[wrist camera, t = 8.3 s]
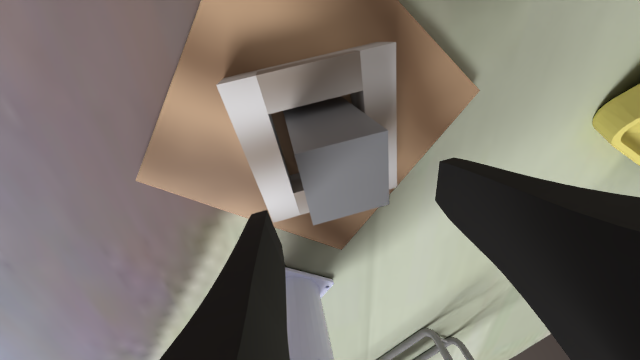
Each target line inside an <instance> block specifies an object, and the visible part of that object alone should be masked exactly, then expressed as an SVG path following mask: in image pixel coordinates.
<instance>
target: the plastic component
mask: <svg viewBox="0 0 640 360" xmlns="http://www.w3.org/2000/svg"><path fill="white" fill-rule="evenodd" d="M593 126H594V128H595V129H596V130H597V131H598V132H599V133H600V134H601V135H602V136H603V137H604V138H605V139H606V140H607V141H608V142H609V143H610V144H611V145H612V146H613V147H615V148H616V149H617V150H619V151H620V152H622V153H623V154H624V155H626V156H627V157H628V158H630V159H631V160H632V161H634V162H635V163H637V164H638V165H639V166H640V84H638V85H636V86H635V87H633V88H631V89H629V90H628V91H626V92H624V93H622V94H621V95H619V96H617V97H615V98H614V99H612V100H610V101H609V102H608V103H606V104H605V105H604V106H603V107H601V108H600V109H599V110H598V111H597V113H596V114H595V116H594V118H593Z"/></svg>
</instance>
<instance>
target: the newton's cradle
mask: <svg viewBox="0 0 640 360" xmlns="http://www.w3.org/2000/svg"><path fill="white" fill-rule="evenodd" d="M425 336H428V337H431V338H432V339H433V340H434V342H435V344H436V345H435V346H433V347H432V348H430V349H429V350H427V351H426V352H424V353H423V354H421V355H420V356H418V357H417V358H415V359H414V360H427V359H429V358H430V357H432V356H433V355H435V354H437V353H438V352H440V353H441V355H442V356H443V358H444V360H453V359H452V357H451V356H450V354H449V352H448V350H447V349H446V347H447V346H449V345H451V344H454V345H456V346H458V347H459V349H460V350H461V352H462V353H463V355H464V357H465V358H466V360H474V359H473V357H472V356H471V354H470V353H469V351H468V350H467V348H466V347H465V345H464V344H463V343H462V342H461V341H460V340H459V339H457V338H454V337H448V338H446V339H442V338H440V337H439V336H438V335H437V333H436V332H434V331H433V330H431V329H428V328H423V329H421V330H419V331H418V332H416V333H415V334H413V335H412V336H410V337H409V338H408V339H406V340H405V341H403V342H402V343H400V344H399V345H397V346H396V347H395V348H393V349H392V350H390V351H389V352H387V353H386V354H385V355H383V356H382V357H380V358H379V359H377V360H391V359H393V358H394V357H396V356H397V355H398V354H400V353H401V352H403V351H404V350H406V349H407V348H409V347H410V346H412V345H413V344H415V343H416V342H418V341H419V340H421V339H422V338H423V337H425Z"/></svg>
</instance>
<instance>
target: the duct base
mask: <svg viewBox="0 0 640 360" xmlns="http://www.w3.org/2000/svg"><path fill="white" fill-rule="evenodd" d="M479 91H480V90H479V89H478V88H477V87H476V86H475V85H474V84H473V82H472V81H471V80H470V79H469V78H468V77H467V76H466V75H465V74H464V73H463V71H462V70H461V69H460V68H459V67H458V66H457V65H456V64H455V63H454V62H453V60H452V59H451V58H450V57H449V56H448V55H447V54H446V53H445V52H444V51H443V49H442V48H441V47H440V46H439V45H438V44H437V43H436V42H435V41H434V40H433V38H432V37H431V36H430V35H429V34H428V33H427V32H426V31H425V30H424V29H423V27H422V26H421V25H420V24H419V23H418V22H417V21H416V20H415V19H414V18H413V16H412V15H411V14H410V13H409V12H408V11H407V10H406V9H405V8H404V7H403V5H402V4H401V3H400V2H399V1H398V0H201V3H200V5H199V8H198V11H197V14H196V16H195V19H194V22H193V25H192V27H191V30H190V33H189V36H188V38H187V41H186V44H185V47H184V49H183V52H182V55H181V57H180V60H179V63H178V66H177V68H176V71H175V74H174V77H173V79H172V82H171V85H170V88H169V90H168V93H167V96H166V99H165V101H164V104H163V107H162V110H161V112H160V115H159V118H158V121H157V123H156V126H155V129H154V132H153V134H152V137H151V140H150V143H149V145H148V148H147V151H146V154H145V156H144V159H143V162H142V165H141V167H140V170H139V173H138V176H137V178H136V181H138V182H141V183H144V184H147V185H150V186H153V187H156V188H159V189H162V190H165V191H168V192H171V193H174V194H177V195H180V196H183V197H186V198H189V199H192V200H195V201H198V202H201V203H204V204H207V205H210V206H213V207H216V208H219V209H222V210H225V211H227V212H230V213H233V214H236V215H239V216H242V217H245V218H248V219H249V218H250V216H251V214H254V213H257V212H261V211H264V210H267V211H268V213H269V216H270V218H271V220H272V223H273V225H274V227H275V228H278V229H281V230H284V231H287V232H290V233H293V234H296V235H299V236H302V237H305V238H308V239H311V240H314V241H317V242H320V243H323V244H326V245H329V246H332V247H335V248H338V249H341V250H342V249H343V247H344V246H345V245H346V244H347V243H348V242H349V241H350V239H351V238H352V237H353V236H354V235H355V234H356V233H357V231H358V230H359V229H360V228H361V227H362V226H363V224H364V223H365V222H366V221H367V220H368V219H369V218H370V216H371V215H372V214H373V213H374V212H375V211H376V210H377V208H374V209H370V210H367V211H363V212H360V213H356V214H353V215H349V216H345V217H342V218H338V219H335V220H331V221H328V222H324V223H320V224H317V225H313V223H312V219H311V215H310V211H309V208H308V204H307V200H306V196H305V193H304V189H303V185H302V181H301V177H300V174H299V170H298V166H297V162H296V159H295V155H294V151H293V147H292V143H291V140H290V136H289V132H288V128H287V124H286V121H285V117H284V113H283V111H284V110H288V109H292V108H296V107H300V106H304V105H308V104H312V103H316V102H320V101H323V100H328V99H332V98H336V97H340V96H341V97H343V98H344V99H345V100H347V101H348V102H350V103H351V104H352V105H354V106H355V107H356V108H358V109H359V110H361V111H362V112H363V113H365V114H366V115H368V116H369V117H370V118H372V119H373V120H374V121H376V122H377V123H379V124H380V125H381V126H383V127H384V128H386V129H387V130H388V157H389V195H390V193H391V192H392V191H393V190H394V189H395V188H396V187H397V185H398V184H399V183H400V182H401V181H402V180H403V178H404V177H405V176H406V175H407V174H408V173H409V172H410V170H411V169H412V168H413V167H414V166H415V165H416V163H417V162H418V161H419V160H420V159H421V158H422V157H423V155H424V154H425V153H426V152H427V151H428V150H429V148H430V147H431V146H432V145H433V144H434V143H435V142H436V140H437V139H438V138H439V137H440V136H441V135H442V134H443V132H444V131H445V130H446V129H447V128H448V127H449V125H450V124H451V123H452V122H453V121H454V120H455V119H456V117H457V116H458V115H459V114H460V113H461V112H462V111H463V109H464V108H465V107H466V106H467V105H468V104H469V102H470V101H471V100H472V99H473V98H474V97H475V96H476V94H477V93H478V92H479Z"/></svg>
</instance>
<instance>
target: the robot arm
mask: <svg viewBox="0 0 640 360" xmlns="http://www.w3.org/2000/svg"><path fill="white" fill-rule="evenodd" d="M435 201H436V202H437V204H438V205H439V206H440V208H441V209H442V210H443V212H444V213H445V214H446V216H447V217H448V218H449V219H450V220H451V221H452V222H453V224H454V225H455V226H456V227H457V228H458V229H459V230H460V231H461V232H462V233H463V234H464V235H465V236H466V237H467V238H468V239H469V240H470V241H471V242H472V243H474V244H475V245H476V246H477V247H478V248H479V249H480V250H481V251H482V252H483V253H484V254H485V255H486V256H487V257H488V258H489V259H490V260H491V261H492V262H493V263H494V264H495V265H496V266H497V268H498V269H499V270H500V271H501V272H502V273H503V274H504V275H505V276H506V278H507V279H508V280H509V281H510V282H511V283H512V285H513V286H514V287H515V288H516V289H517V291H518V292H519V293H520V294H521V295H522V297H523V298H524V299H525V300H526V302H527V303H528V304H529V305H530V307H531V308H532V309H533V310H534V312H535V313H536V314H537V315H538V317H539V318H540V319H541V321H542V322H543V323H544V324H545V326H546V327H547V328H548V330H549V331H550V332H551V334H552V335H553V336H554V338H555V339H556V340H557V342H558V343H559V344H560V346H561V347H562V349H563V350H564V351H565V353H566V354H567V355H568V357H569V358H570V360H640V197H633V196H627V195H620V194H614V193H608V192H602V191H597V190H591V189H585V188H580V187H575V186H570V185H565V184H561V183H556V182H552V181H547V180H543V179H538V178H534V177H530V176H526V175H522V174H518V173H514V172H510V171H506V170H503V169H499V168H495V167H491V166H487V165H484V164H480V163H476V162H472V161H468V160H463V159H458V158H451V159H447V160H443V161H440V163H439V172H438V181H437V189H436V198H435ZM333 284H334V282H333V280H332V279H329V278H325V277H322V276H318V275H314V274H310V273H306V272H302V271H298V270H294V269H290V268H287V267H285V264H284V257H283V250H282V245H281V242H280V240H279V238H278V235H277V233H276V230H275V228H274V225H273V223H272V220H271V218H270V216H269V213H268V211H267V210H264V211H261V212H257V213H254V214H251V216H250V218H249V220H248V222H247V224H246V226H245V228H244V230H243V232H242V234H241V236H240V238H239V240H238V242H237V244H236V246H235V248H234V249H233V251H232V253H231V255H230V257H229V259H228V261H227V262H226V264H225V266H224V268H223V269H222V271H221V273H220V274H219V276H218V278H217V279H216V281H215V283H214V285H213V286H212V288H211V289H210V291H209V293H208V294H207V296H206V297H205V299H204V300H203V302H202V303H201V305H200V306H199V308H198V309H197V311H196V312H195V313H194V315H193V316H192V318H191V319H190V321H189V322H188V323H187V325H186V326H185V328H184V329H183V330H182V332H181V333H180V334H179V335H178V337H177V338H176V339H175V341H174V342H173V343H172V344H171V346H170V347H169V348H168V350H167V351H166V352H165V353H164V355H163V356H162V357H161V358H160V360H334V357H333V352H332V348H331V343H330V338H329V334H328V329H327V325H326V320H325V315H324V311H323V306H322V302H321V297H322V296H323V295H324V294H325V293H326V292H327V291H328V290H329V289H330V288H331V287H332V285H333Z"/></svg>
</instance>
